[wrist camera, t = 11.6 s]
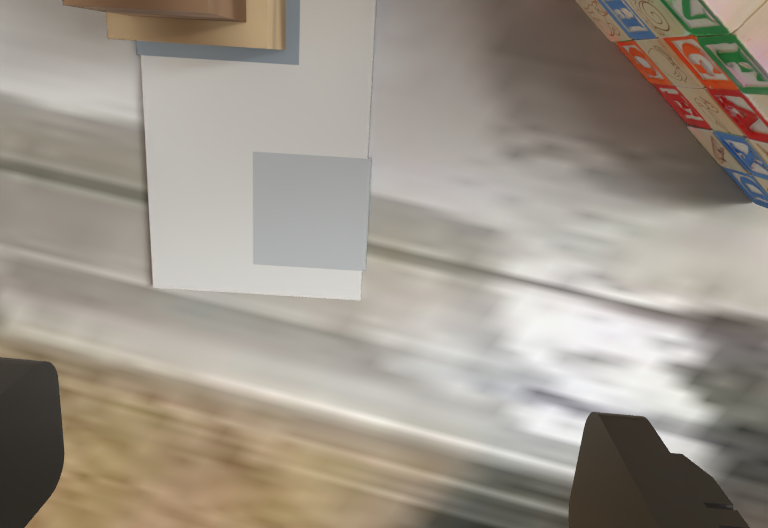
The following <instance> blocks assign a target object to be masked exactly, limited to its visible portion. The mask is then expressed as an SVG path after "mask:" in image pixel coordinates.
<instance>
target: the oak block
mask: <svg viewBox="0 0 768 528" xmlns="http://www.w3.org/2000/svg"><path fill="white" fill-rule="evenodd" d="M106 18H107V33H108V39H122V40H136V41H149V42H165V43H181V44H197V45H213V46H229V47H244V48H260V49H276V50H286V0H246V22H231V21H213V20H194V19H176V18H158V17H140V16H128V15H122V14H116V13H110V12H106Z"/></svg>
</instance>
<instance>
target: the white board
mask: <svg viewBox="0 0 768 528" xmlns="http://www.w3.org/2000/svg"><path fill="white" fill-rule="evenodd" d="M375 13H376V0H286V50H276V49H260V48H244V47H229V46H213V45H197V44H181V43H165V42H149V41H136V52H137V55H141V72H142V90H143V109H144V127H145V146H146V164H147V183H148V201H149V220H150V238H151V257H152V275H153V288H168V289H184V290H200V291H216V292H232V293H249V294H265V295H281V296H297V297H313V298H330V299H346V300H360V299H361V280H362V271H365V270H366V252H367V233H368V215H369V196H370V178H371V159H372V158H368V146H369V127H370V108H371V89H372V70H373V51H374V32H375Z"/></svg>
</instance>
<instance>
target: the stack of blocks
mask: <svg viewBox="0 0 768 528" xmlns="http://www.w3.org/2000/svg"><path fill="white" fill-rule="evenodd" d="M575 1H576V2H577V4H578V5H579V6H580V7H581V8H582V10H583V11H584V12H585V13H586V14H587V16H588V17H589V18H590V19H591V20H592V21H593V22H594V24H595V25H596V26H597V27H598V28H599V29H600V30H601V31H602V33H603V34H604V35H605V36H606V37H607V38H608V39H609V41H611V42H614V43H615V44H617V46H618V47H619V49H620V50H621V51H622V52H623V53H624V54H625V55H626V56H627V57H628V58H629V59H630V61H631V62H632V63H633V64H634V66H635V67H636V68H637V69H638V70H639V71H640V72H641V74H642V75H643V76H644V77H645V78H646V79H647V81H648V82H650V83H652V84H653V85H654V87H655V88H656V89H657V90H658V91H659V92H660V94H661V95H662V96H663V97H664V98H665V100H666V101H667V102H668V103H669V104H670V105H671V106H672V107H673V108H674V110H675V111H676V112H677V113H678V114H679V115H680V117H681V118H682V119H683V120H684V121H685V122H686V123H687V124H688V125H687V128H688V129H689V130H690V132H691V133H692V134H693V135H694V136H695V137H696V139H697V140H698V141H699V142H700V143H701V144H702V146H703V147H704V148H705V149H706V150H707V151H708V152H709V154H710V155H711V156H712V157H713V158H714V159H715V161H716V162H717V163H718V164H719V165H720V166H722V167H723V168H724V170H725V171H726V172H727V173H728V174H729V176H730V177H731V178H732V179H733V180H734V181H735V182H736V184H737V185H738V186H739V187H740V188H741V189H742V190H743V191H744V193H745V194H746V195H747V196H748V197H749V198H750V199H751V200H752V201H753V202H754V203H755V204H757V205H760V206H763V207H766V208H768V0H575Z"/></svg>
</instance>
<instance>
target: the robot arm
mask: <svg viewBox="0 0 768 528" xmlns="http://www.w3.org/2000/svg"><path fill="white" fill-rule="evenodd" d="M63 463H64V442H63V430H62V418H61V406H60V395H59V383H58V375H57V371H56V369H55V367H54V366H53V364H51V363H50V362H46V361H35V360H24V359H13V358H2V357H0V528H24V527H25V526H26V525H27V524H28V523H29V521H30V520H31V519H32V518H33V517H34V515H35V514H36V513H37V512H38V511H39V509H40V508H41V507H42V506H43V504H44V503H45V502H46V501H47V500H48V498H49V497H50V496H51V494H52V493H53V491H54V490H55V488H56V486H57V484H58V481H59V479H60V476H61V472H62V468H63ZM569 528H750V527H749V526H748V525H747V523H746V522H745V521H744V519H743V518H742V517H741V515H740V514H739V512H738V511H737V510H733V504H732V503H731V502H730V500H729V499H728V497H727V496H726V495H725V493H724V492H723V491H722V489H721V488H720V487H719V485H718V484H717V482H716V481H715V480H714V478H713V477H711V476H710V475H709V474H707V473H706V472H705V471H703V470H702V469H701V468H700V467H698V466H697V465H696V464H694V463H693V462H692V461H690V460H689V459H688V458H687V457H685V456H684V455H683V454H675V453H670V452H669V450H668V449H667V447H666V446H665V444H664V443H663V441H662V440H661V438H660V437H659V435H658V434H657V432H656V431H655V429H654V428H653V426H652V425H651V423H650V422H649V421H648V419H647V418H645V417H643V416H633V415H622V414H611V413H600V412H592V413H591V414H590V415H589V416H588V418H587V420H586V423H585V427H584V431H583V436H582V441H581V446H580V451H579V456H578V461H577V466H576V471H575V476H574V481H573V486H572V491H571V496H570V502H569Z"/></svg>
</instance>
